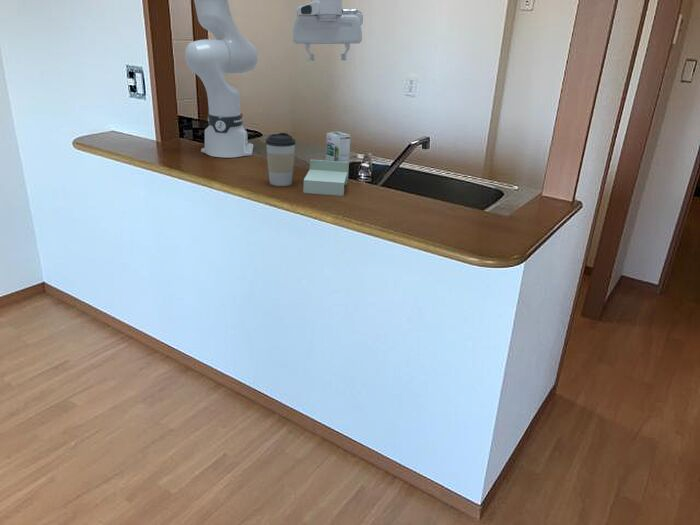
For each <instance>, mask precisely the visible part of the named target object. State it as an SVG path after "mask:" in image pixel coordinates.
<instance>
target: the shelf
mask: <svg viewBox="0 0 700 525" xmlns="http://www.w3.org/2000/svg"><path fill="white" fill-rule="evenodd" d="M347 176H348V177H349V170H348V162H341V161H327V160H326V159H324V160H323V159H309V170H308V171H307V173H306V175H305V176H304V177H303V178H304V179H303V188H302V189H303V190H302V191H303V194H310V195H311V194H312V195H314V194H315V195H324V196H325V195H327V196H339V197H344V194H345V186H347V185H348V178H347Z"/></svg>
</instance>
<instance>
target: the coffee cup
mask: <svg viewBox="0 0 700 525" xmlns="http://www.w3.org/2000/svg"><path fill="white" fill-rule="evenodd" d="M265 144H266V160H267V170H268V176H269V178H268V180H269V184H270V185H272V186H277V187H287V186H291V185H292V184H293V173H294V172H293V171H294V165H295V156H296V155H295V153H296V152H295V149H296V148H295V146H296V139H294V138H293V137H292V135H290V134H289V133H287V132H279V133H274V134H270V135H269V136H268V137H267V138H266V139H265Z"/></svg>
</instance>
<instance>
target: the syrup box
mask: <svg viewBox="0 0 700 525" xmlns="http://www.w3.org/2000/svg"><path fill="white" fill-rule="evenodd" d="M325 147H326V148H325V160H327V161H341V162H348V171H349V166H350V154H351V152H350V151H351V150H350V149H351V134H348V133H345V132H341V131H330V132H327V133H326V146H325ZM347 179H349V175H348V176H347Z"/></svg>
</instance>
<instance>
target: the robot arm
mask: <svg viewBox="0 0 700 525" xmlns="http://www.w3.org/2000/svg"><path fill="white" fill-rule="evenodd" d="M310 1H311V2H310V3H309V2H308V3H305V4H303V5H300V6H298V7H297V8H296V10H295V12H296V15H297V17H295V19H294V22H293V28H292V42H293V43H294V44H296V45H304V48H305V50H306V52H307V53H308V58H309V59H308V60H309V61H310V62H311V61H315V53H312V52H311V50H310V49H311V45H320V44H321V45H323V44H325V45H327V44H328V45H329V44H330V45H332V44H333V45H335V44H337V45H339V44H340V45H342V44H343V45H344V48H345V50H344V53H341V54H340V57H341V58H340V60H341V61H347V54H348V52H349V50H350V48H351V44H357V45H358V44H360V43H361V42H362V41H363V33H362V31H363V30H362V27H361V26H363V21H364V20H363V19H364V15H363V13H362V12H361V11H360V10H358V9H357V8H356V9H349V8H348V9H347V8H343V0H310ZM229 4H230V3H229V0H194V6H195V11H196V17H197V21H198V22H199V23H198V24H200V26H201V27H202V29H204V30H207V31H208V32H209V33H211V34H212V35H213V36H214V39H209V38H208V39H207V38H206V39H205V38H204V39H198V40H193V41H191V42H189V43H188V44H187V46H186V48H185V51H184V52H185V53H184V60H185V62H186V65H187V67H188V68H189V69H190V70H191V71H192V72H193V73H194V74H196V76H197V77H198V78H199V79H200V80H201V82H202V83H203V85H204V88H205V91H206V96H207V103H208V105H207V106H208V113H207V124H208V126H207V127H206V128H205V129H204V147H202V148H201V149H200V152H201V153H204V154H206V155H208V156H210V157H214V158H215V157H216V158H226V159H227V158H238V157H244V156H245V157H246V156H252V155H253V151H254V144H253V143H250V142H249V141H248V132H247V129H246V128H245V127H244V125H243V123H244V122H243V116H244V115H243V112H241V94H240V92H239V90H238V89H237V88H236V87H235V86H233V85H232V84H230V83H228V82H227V80H226V74H243V73H246V72H250V71H253V70H254V69H255V68H256V67H257V63H258V59H259V58H258V56H259V54H258V51H257V48H256V47H255V45H254V44H253V43H252V42H250V41H249V40H248V39H247V38H245V37H244V35H243V34H242V33H241V31H240V30H239V29H238V27H237V26H236V24H235V22H234V19H233V16H232V12H231V8H230V5H229Z"/></svg>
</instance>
